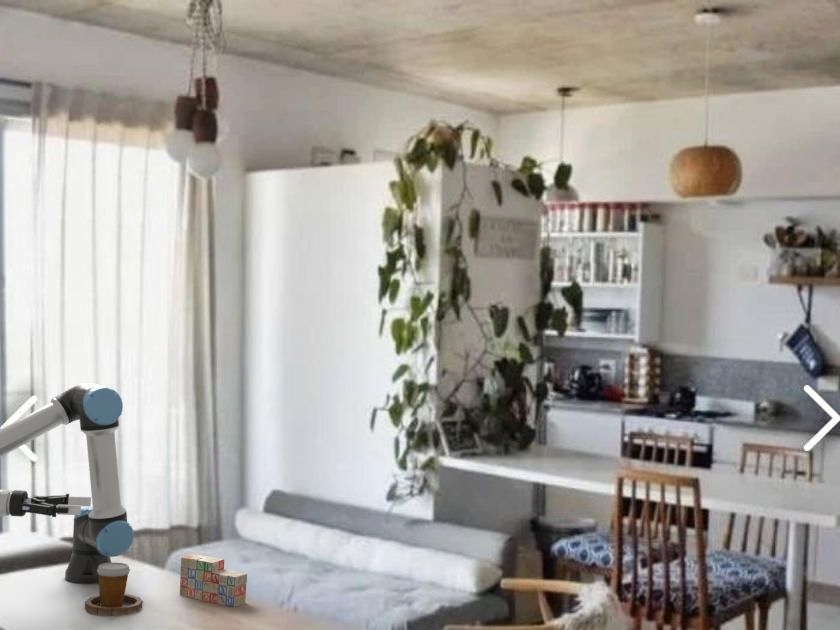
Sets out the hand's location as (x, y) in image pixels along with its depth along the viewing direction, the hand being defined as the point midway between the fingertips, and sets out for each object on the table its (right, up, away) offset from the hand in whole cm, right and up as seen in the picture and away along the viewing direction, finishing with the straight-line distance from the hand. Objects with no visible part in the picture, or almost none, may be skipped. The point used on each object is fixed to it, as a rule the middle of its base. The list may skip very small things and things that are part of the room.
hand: (85, 506), depth 308 cm
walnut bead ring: (+8, -30, +1) cm, 31 cm away
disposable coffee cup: (+7, -31, +2) cm, 31 cm away
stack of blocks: (+34, -32, +16) cm, 50 cm away
